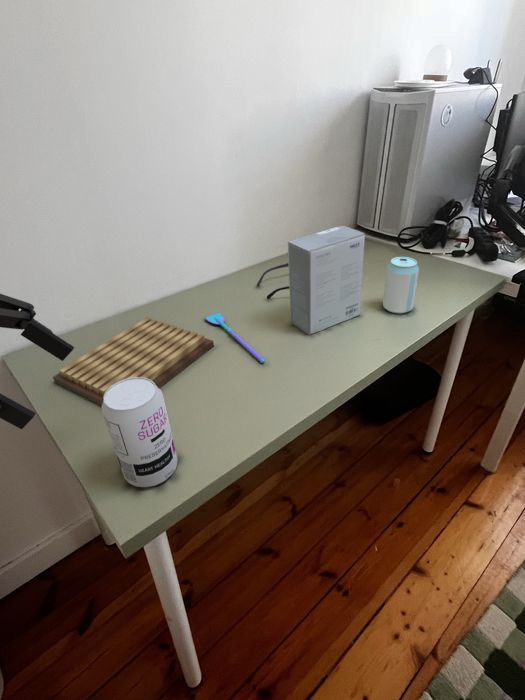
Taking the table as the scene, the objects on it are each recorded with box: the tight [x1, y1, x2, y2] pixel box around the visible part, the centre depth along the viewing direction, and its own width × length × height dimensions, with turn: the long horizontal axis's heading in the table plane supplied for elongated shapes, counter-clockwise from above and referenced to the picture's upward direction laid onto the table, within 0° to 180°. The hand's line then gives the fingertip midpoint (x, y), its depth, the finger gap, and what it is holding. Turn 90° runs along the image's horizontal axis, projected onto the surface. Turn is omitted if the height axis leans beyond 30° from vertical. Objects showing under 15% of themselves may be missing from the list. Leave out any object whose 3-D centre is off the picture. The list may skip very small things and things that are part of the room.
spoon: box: [204, 312, 266, 364], centre depth 97 cm, size 25×4×1 cm, turn 35°
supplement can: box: [101, 377, 178, 488], centre depth 62 cm, size 8×8×15 cm
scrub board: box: [52, 316, 215, 407], centre depth 90 cm, size 26×20×3 cm
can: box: [382, 256, 420, 315], centre depth 101 cm, size 7×7×12 cm
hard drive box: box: [287, 225, 366, 336], centre depth 97 cm, size 16×8×20 cm, turn 123°
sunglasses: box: [256, 262, 289, 300], centre depth 116 cm, size 14×16×5 cm
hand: (50, 384), depth 57 cm, fingers open, 13 cm apart
